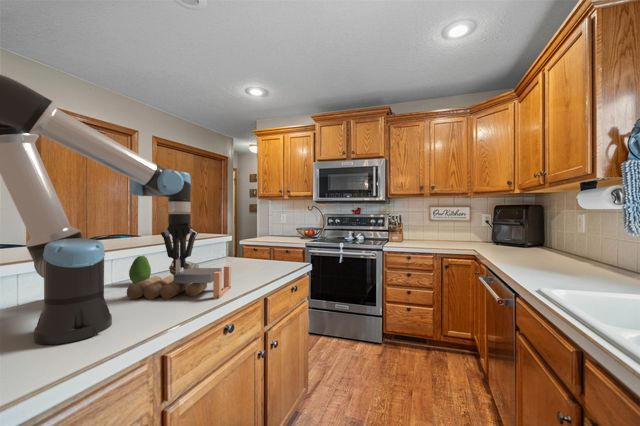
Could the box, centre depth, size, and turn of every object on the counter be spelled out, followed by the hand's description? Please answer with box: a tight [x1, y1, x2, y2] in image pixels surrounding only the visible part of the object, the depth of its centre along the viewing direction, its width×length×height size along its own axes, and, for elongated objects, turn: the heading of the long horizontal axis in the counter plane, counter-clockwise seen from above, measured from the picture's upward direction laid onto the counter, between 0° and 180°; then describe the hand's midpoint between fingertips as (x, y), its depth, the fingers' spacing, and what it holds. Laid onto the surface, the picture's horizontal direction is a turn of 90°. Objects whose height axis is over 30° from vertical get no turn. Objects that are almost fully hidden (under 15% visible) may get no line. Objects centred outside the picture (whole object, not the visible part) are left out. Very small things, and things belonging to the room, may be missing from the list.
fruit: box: [128, 255, 152, 285], centre depth 119 cm, size 8×8×12 cm
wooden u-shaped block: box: [212, 265, 232, 300], centre depth 106 cm, size 14×2×9 cm, turn 1°
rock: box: [168, 260, 200, 277], centre depth 125 cm, size 18×10×10 cm, turn 6°
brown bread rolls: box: [126, 275, 192, 300], centre depth 106 cm, size 14×16×5 cm
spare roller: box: [185, 283, 208, 298], centre depth 106 cm, size 8×5×5 cm
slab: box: [173, 267, 222, 284], centre depth 106 cm, size 12×13×3 cm
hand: (179, 276), depth 106 cm, fingers closed
